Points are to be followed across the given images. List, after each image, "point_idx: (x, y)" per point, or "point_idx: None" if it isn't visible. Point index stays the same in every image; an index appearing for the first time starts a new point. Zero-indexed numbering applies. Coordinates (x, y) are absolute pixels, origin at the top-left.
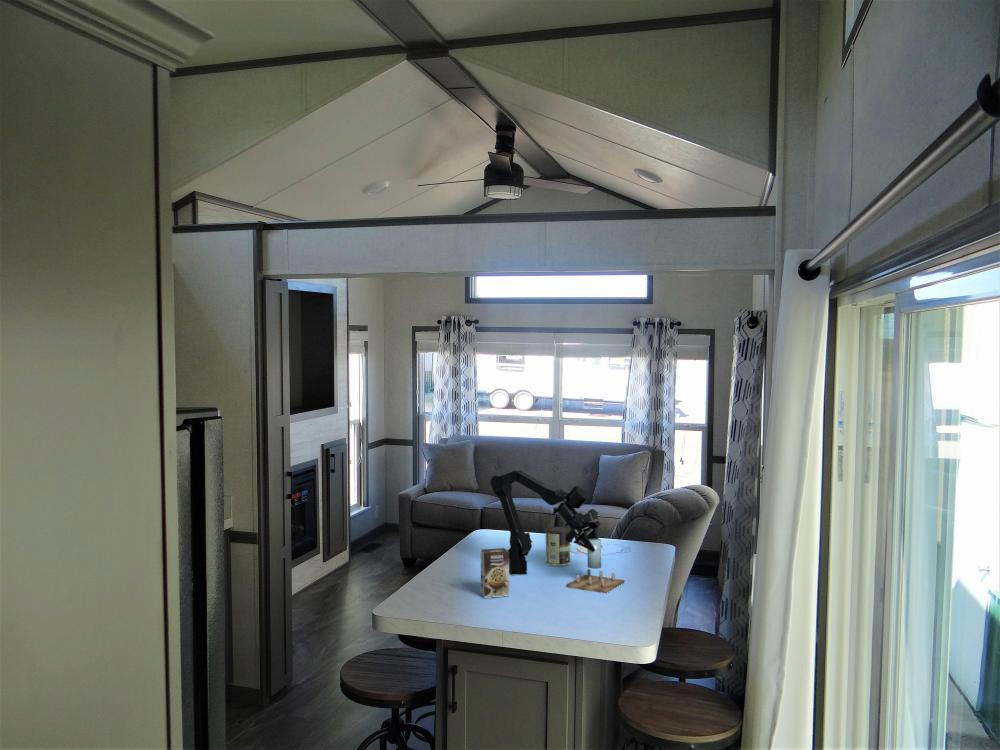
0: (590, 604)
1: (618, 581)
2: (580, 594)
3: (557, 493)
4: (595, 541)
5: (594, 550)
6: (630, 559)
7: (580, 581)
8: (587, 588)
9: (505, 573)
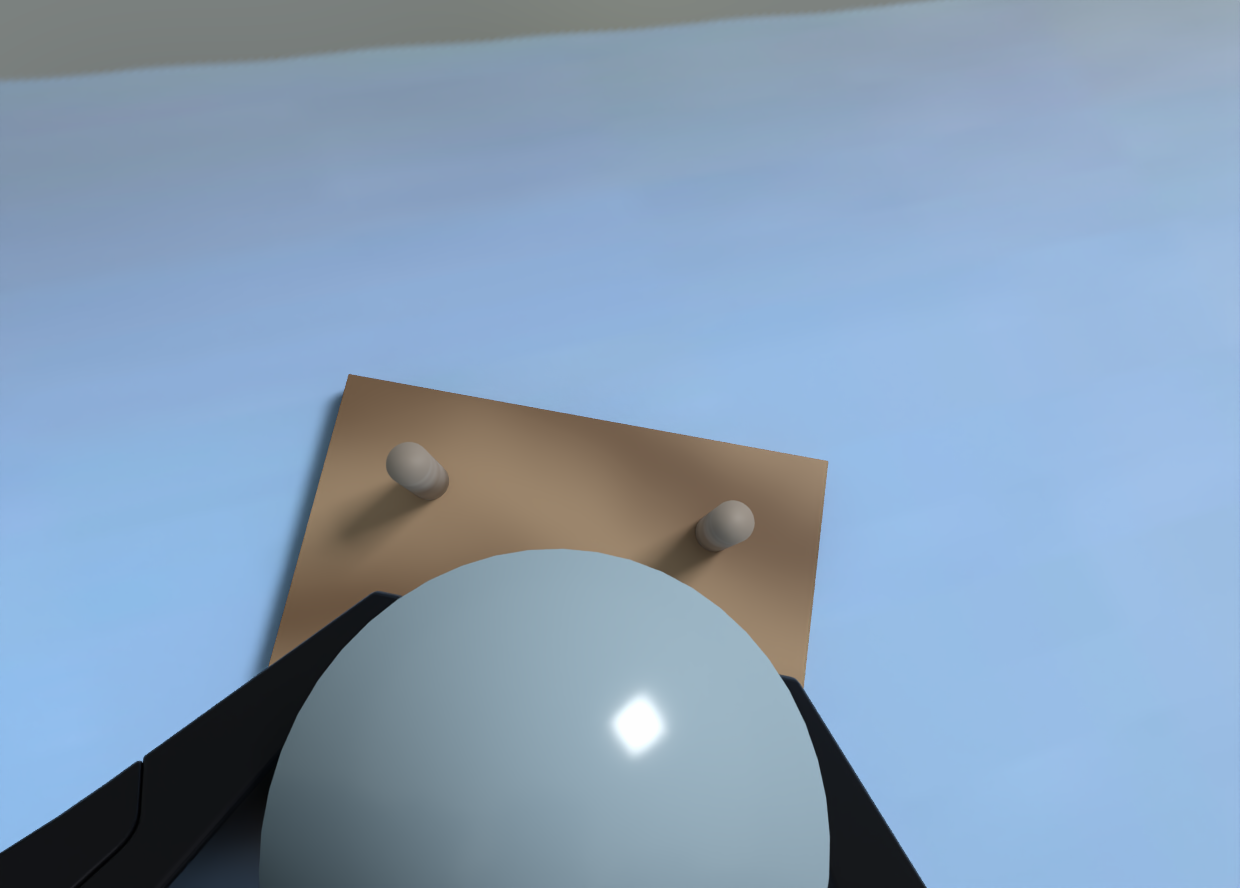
0: (1235, 517)
1: (424, 424)
2: (970, 720)
3: None
4: (788, 703)
5: (787, 685)
6: None
7: None
8: None
9: None
